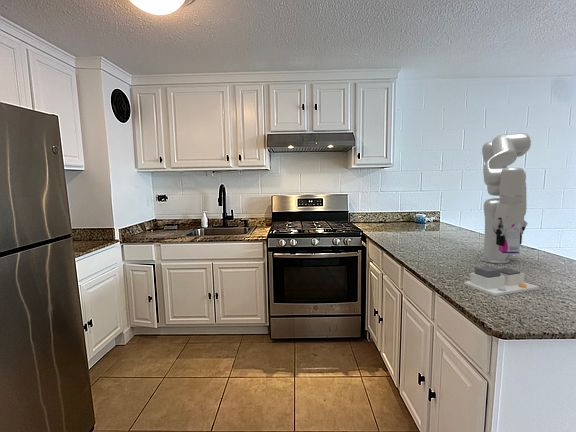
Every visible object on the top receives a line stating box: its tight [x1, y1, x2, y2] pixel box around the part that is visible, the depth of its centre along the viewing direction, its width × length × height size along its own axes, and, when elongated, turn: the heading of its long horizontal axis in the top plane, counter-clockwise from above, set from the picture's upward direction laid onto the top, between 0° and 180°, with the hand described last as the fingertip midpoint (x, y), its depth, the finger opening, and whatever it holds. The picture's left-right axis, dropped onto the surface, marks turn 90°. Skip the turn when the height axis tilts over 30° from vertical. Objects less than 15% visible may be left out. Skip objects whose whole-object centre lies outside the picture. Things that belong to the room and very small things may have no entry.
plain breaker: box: [474, 265, 501, 278], centre depth 125 cm, size 6×6×4 cm
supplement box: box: [498, 224, 521, 254], centre depth 126 cm, size 6×6×12 cm
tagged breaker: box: [499, 267, 521, 275], centre depth 128 cm, size 6×6×4 cm
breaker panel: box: [464, 271, 540, 297], centre depth 125 cm, size 21×14×5 cm, turn 105°
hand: (508, 244), depth 126 cm, fingers closed on supplement box, 7 cm apart
